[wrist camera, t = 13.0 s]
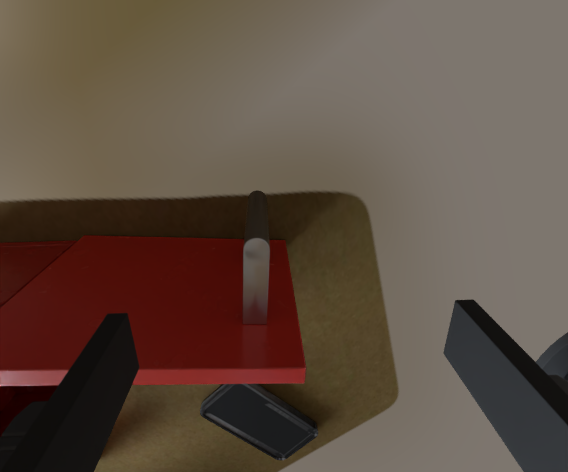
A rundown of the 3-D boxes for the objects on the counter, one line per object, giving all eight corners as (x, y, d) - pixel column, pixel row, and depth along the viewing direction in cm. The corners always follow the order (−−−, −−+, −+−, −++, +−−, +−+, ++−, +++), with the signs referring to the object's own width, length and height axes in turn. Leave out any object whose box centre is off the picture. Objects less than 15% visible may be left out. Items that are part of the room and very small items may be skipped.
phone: (281, 462, 48) (196, 413, 44) (280, 454, 49) (197, 405, 45) (322, 432, 47) (238, 377, 42) (320, 425, 48) (238, 370, 43)
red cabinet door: (71, 171, 32) (-123, 264, 16) (289, 180, 33) (316, 271, 17) (86, 245, 35) (-65, 387, 19) (284, 250, 36) (304, 383, 20)
